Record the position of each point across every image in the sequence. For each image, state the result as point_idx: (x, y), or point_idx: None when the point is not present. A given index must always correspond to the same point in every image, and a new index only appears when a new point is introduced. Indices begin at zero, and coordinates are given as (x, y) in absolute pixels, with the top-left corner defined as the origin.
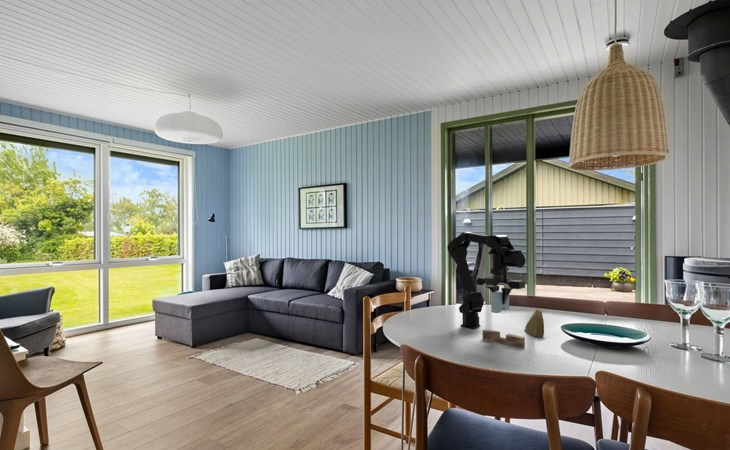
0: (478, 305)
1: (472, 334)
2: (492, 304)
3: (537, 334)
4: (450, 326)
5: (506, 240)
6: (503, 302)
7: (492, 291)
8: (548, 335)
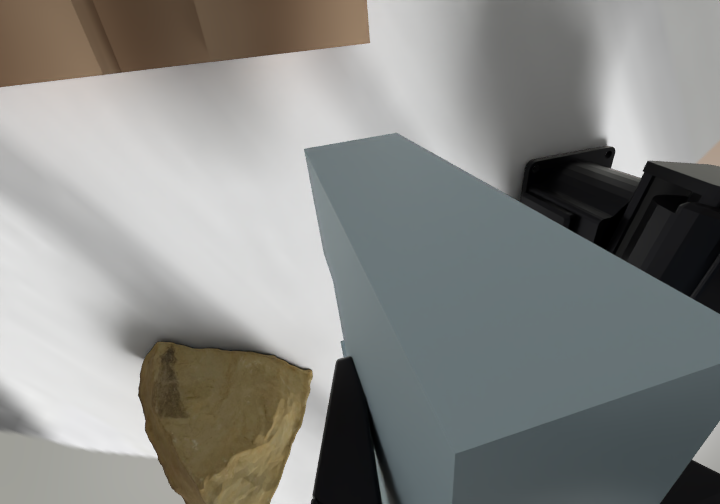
0: None
1: (466, 34)
2: (425, 170)
3: (162, 354)
4: (659, 85)
5: None
6: (336, 382)
7: (697, 492)
8: None
